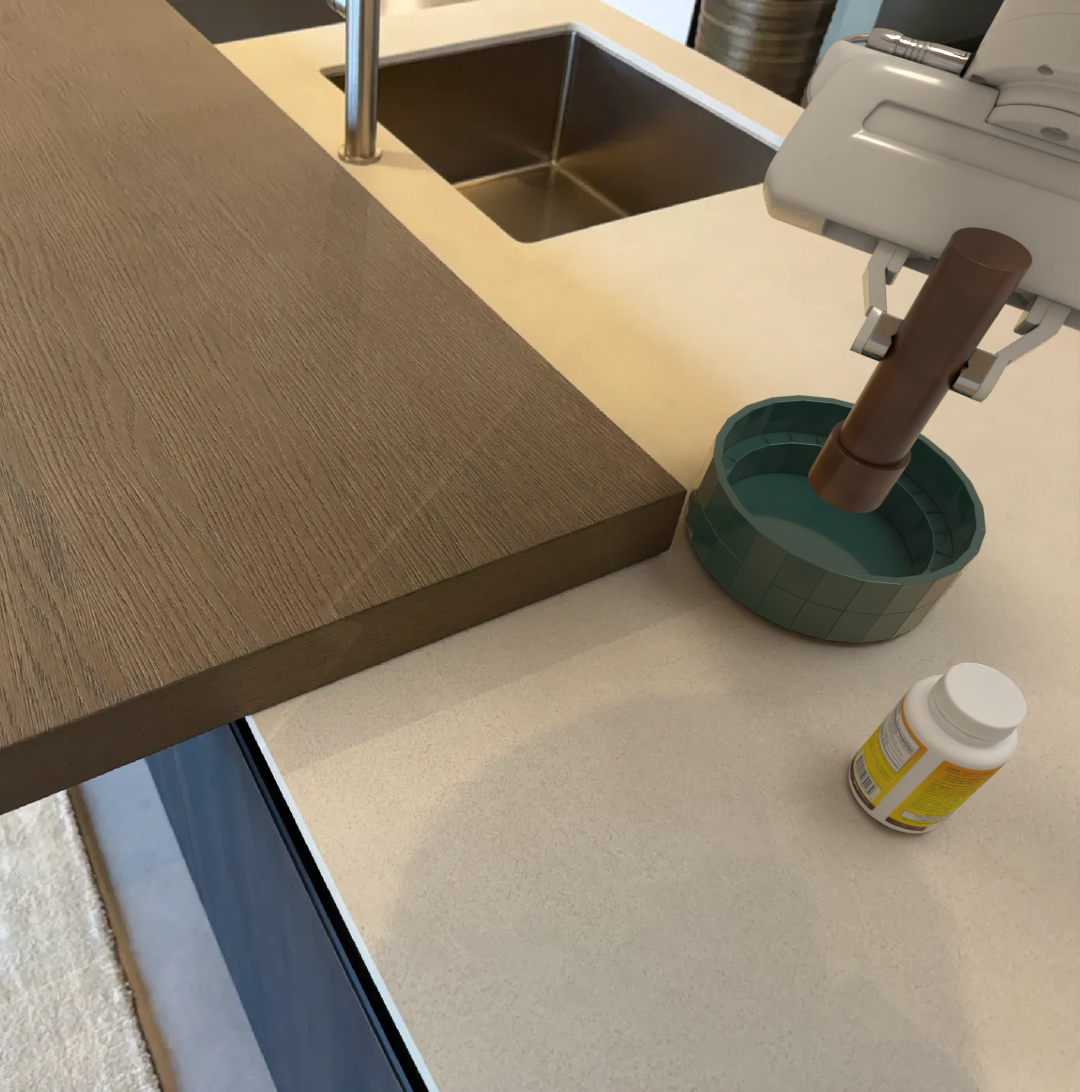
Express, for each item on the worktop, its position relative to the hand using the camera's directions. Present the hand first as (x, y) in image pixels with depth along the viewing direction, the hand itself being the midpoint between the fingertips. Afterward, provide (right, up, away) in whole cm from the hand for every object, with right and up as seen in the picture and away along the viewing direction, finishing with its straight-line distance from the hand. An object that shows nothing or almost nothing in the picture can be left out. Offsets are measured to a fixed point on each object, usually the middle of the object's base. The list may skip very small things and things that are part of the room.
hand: (916, 374), depth 47 cm
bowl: (+6, -8, +25) cm, 27 cm away
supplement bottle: (+6, -22, +13) cm, 26 cm away
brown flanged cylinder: (0, -5, +6) cm, 8 cm away
